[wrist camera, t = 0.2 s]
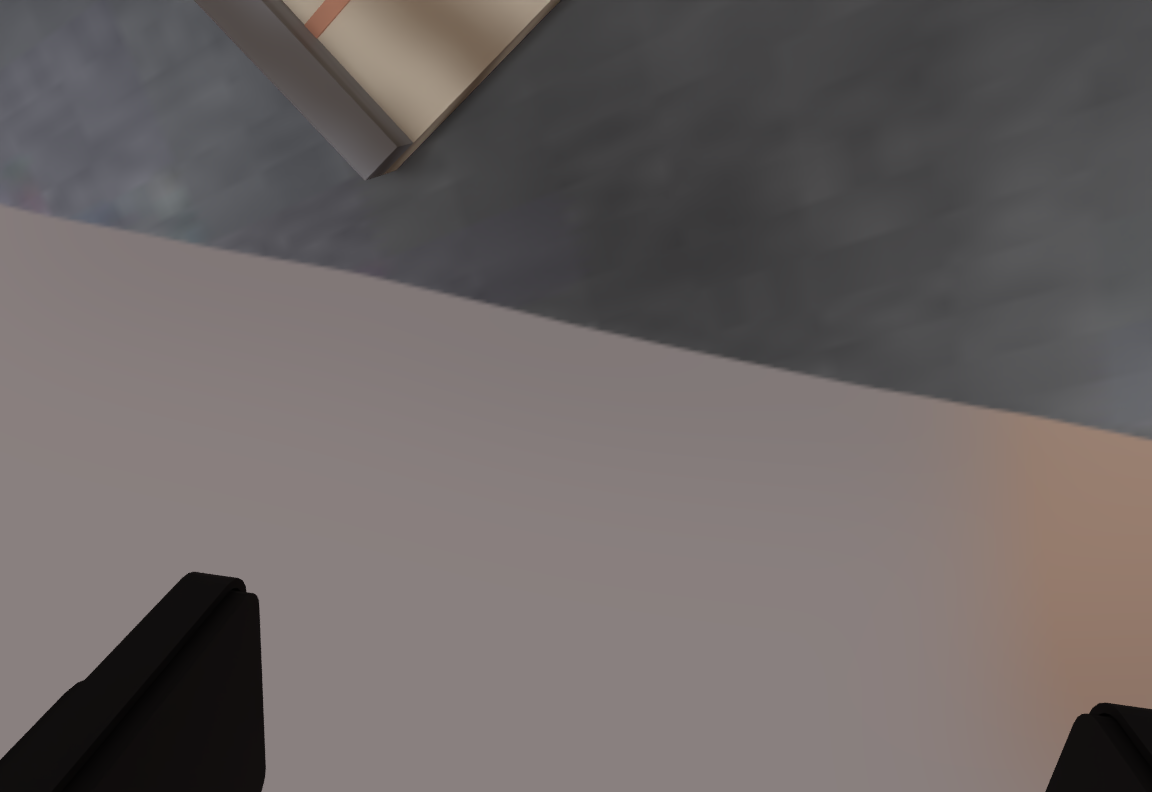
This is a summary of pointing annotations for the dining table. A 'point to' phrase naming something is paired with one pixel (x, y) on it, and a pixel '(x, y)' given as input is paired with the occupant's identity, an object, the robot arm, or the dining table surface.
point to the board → (376, 63)
